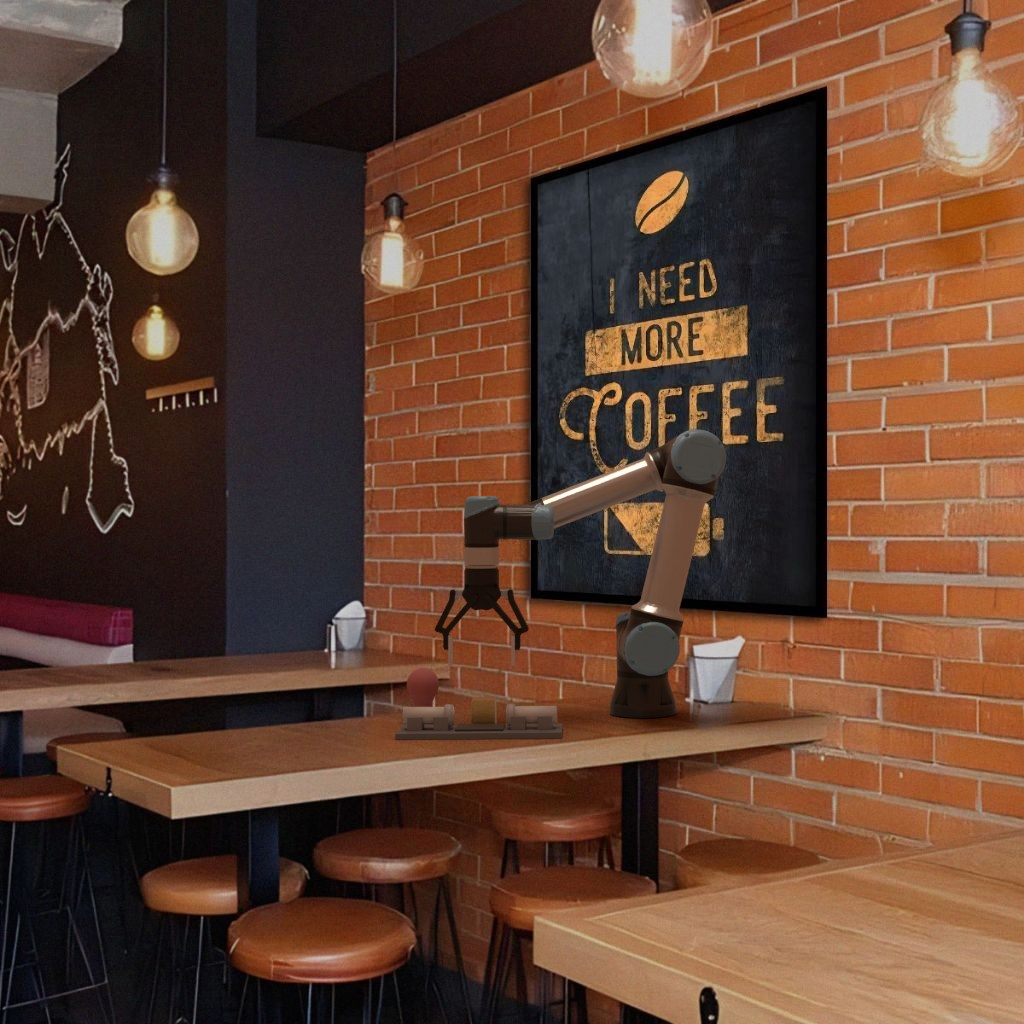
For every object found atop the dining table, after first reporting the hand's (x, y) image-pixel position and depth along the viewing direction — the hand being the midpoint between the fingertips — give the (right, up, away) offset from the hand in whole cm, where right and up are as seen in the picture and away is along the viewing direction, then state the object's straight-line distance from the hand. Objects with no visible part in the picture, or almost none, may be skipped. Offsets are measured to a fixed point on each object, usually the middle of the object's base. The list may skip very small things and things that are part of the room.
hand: (481, 665), depth 289 cm
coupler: (0, -13, 0) cm, 13 cm away
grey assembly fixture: (0, -13, -11) cm, 17 cm away
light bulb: (-13, -14, +7) cm, 20 cm away
